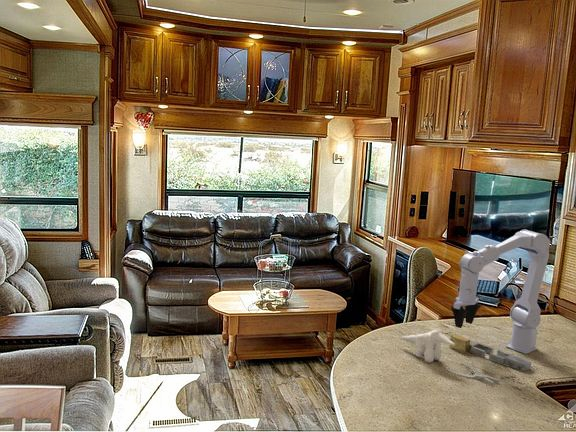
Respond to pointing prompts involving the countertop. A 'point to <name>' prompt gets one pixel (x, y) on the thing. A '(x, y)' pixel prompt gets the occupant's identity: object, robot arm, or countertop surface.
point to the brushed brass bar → (460, 343)
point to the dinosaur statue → (428, 344)
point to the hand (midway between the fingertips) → (463, 325)
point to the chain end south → (479, 349)
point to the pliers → (477, 376)
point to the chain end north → (510, 361)
